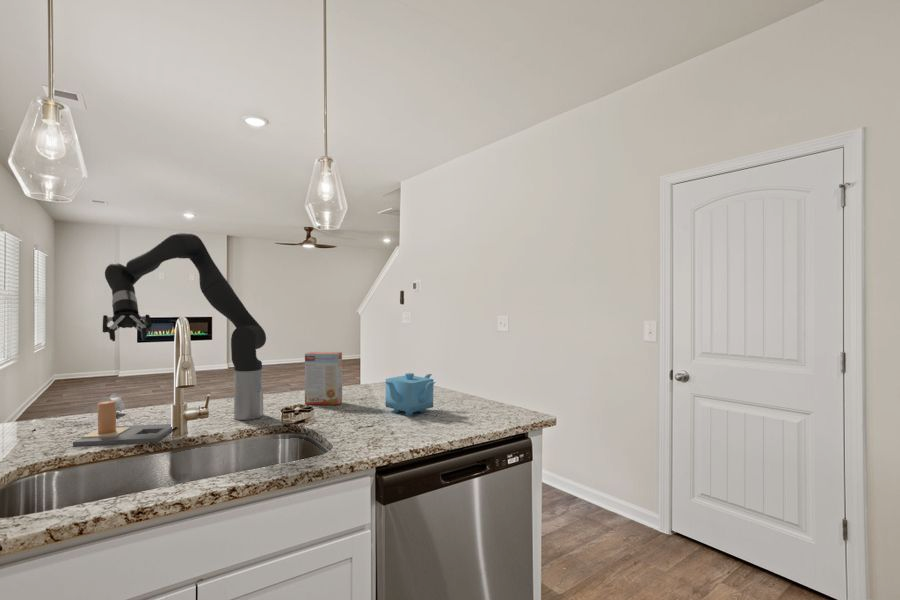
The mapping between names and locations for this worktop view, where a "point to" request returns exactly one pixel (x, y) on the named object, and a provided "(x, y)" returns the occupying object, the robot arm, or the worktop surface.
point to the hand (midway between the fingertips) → (129, 339)
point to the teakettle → (409, 393)
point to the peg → (106, 417)
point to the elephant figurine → (118, 400)
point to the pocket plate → (126, 435)
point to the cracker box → (323, 378)
